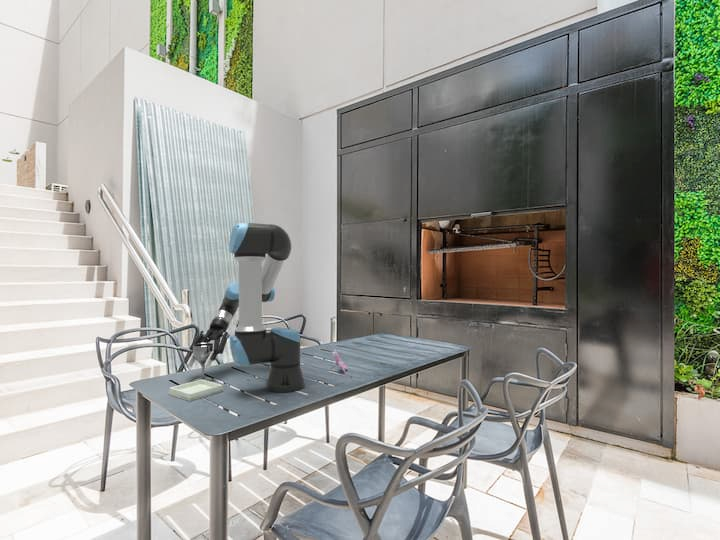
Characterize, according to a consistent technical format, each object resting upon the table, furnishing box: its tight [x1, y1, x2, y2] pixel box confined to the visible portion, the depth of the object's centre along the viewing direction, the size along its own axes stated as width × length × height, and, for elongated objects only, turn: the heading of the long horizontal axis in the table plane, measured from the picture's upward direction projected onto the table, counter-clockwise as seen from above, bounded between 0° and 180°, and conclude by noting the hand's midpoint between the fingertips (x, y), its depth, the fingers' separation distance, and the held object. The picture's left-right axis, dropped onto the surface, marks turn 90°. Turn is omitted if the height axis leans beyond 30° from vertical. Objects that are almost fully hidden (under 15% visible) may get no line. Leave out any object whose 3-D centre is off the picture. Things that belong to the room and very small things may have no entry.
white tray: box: [168, 380, 224, 402], centre depth 148 cm, size 14×14×2 cm
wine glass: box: [193, 342, 214, 382], centre depth 165 cm, size 8×8×15 cm
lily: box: [329, 348, 349, 373], centre depth 179 cm, size 12×12×10 cm
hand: (197, 366), depth 162 cm, fingers closed on wine glass, 8 cm apart
